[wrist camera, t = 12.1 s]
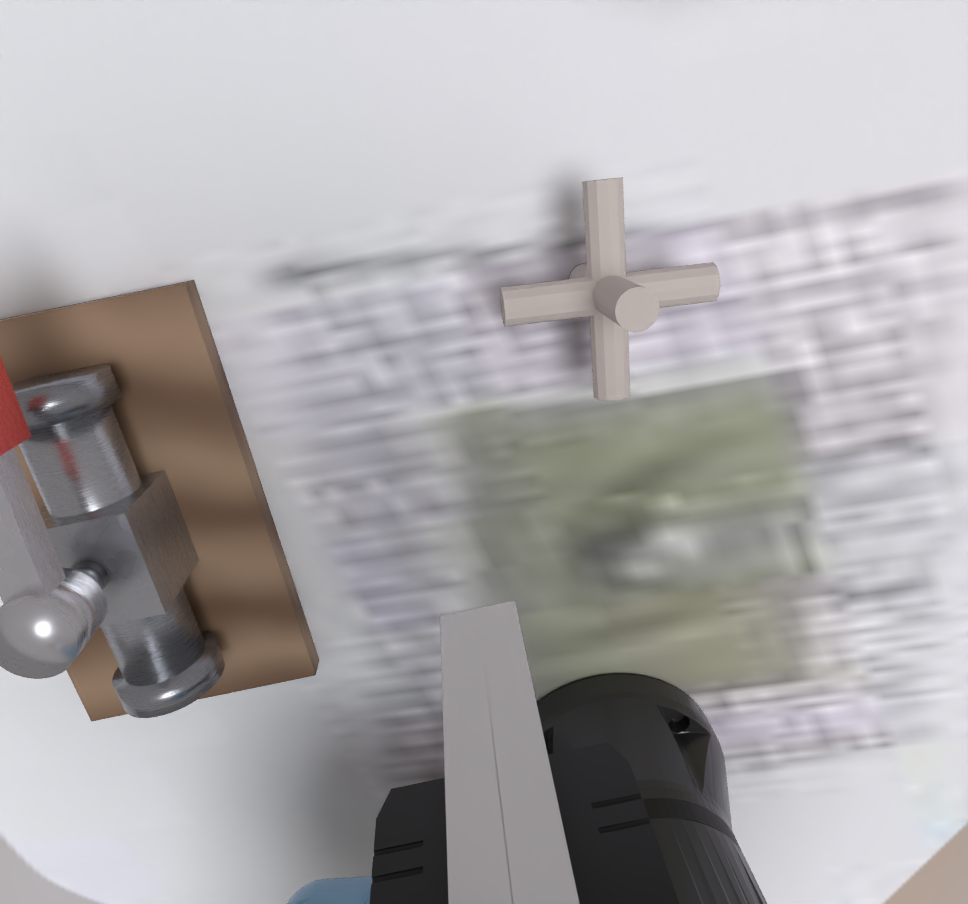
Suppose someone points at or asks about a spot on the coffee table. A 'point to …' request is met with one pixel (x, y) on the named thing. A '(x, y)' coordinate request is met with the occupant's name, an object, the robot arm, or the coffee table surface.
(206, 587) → the walnut board
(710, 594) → the coffee table surface
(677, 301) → the pipe connector
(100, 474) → the valve body
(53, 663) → the valve handle
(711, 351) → the coffee table surface
